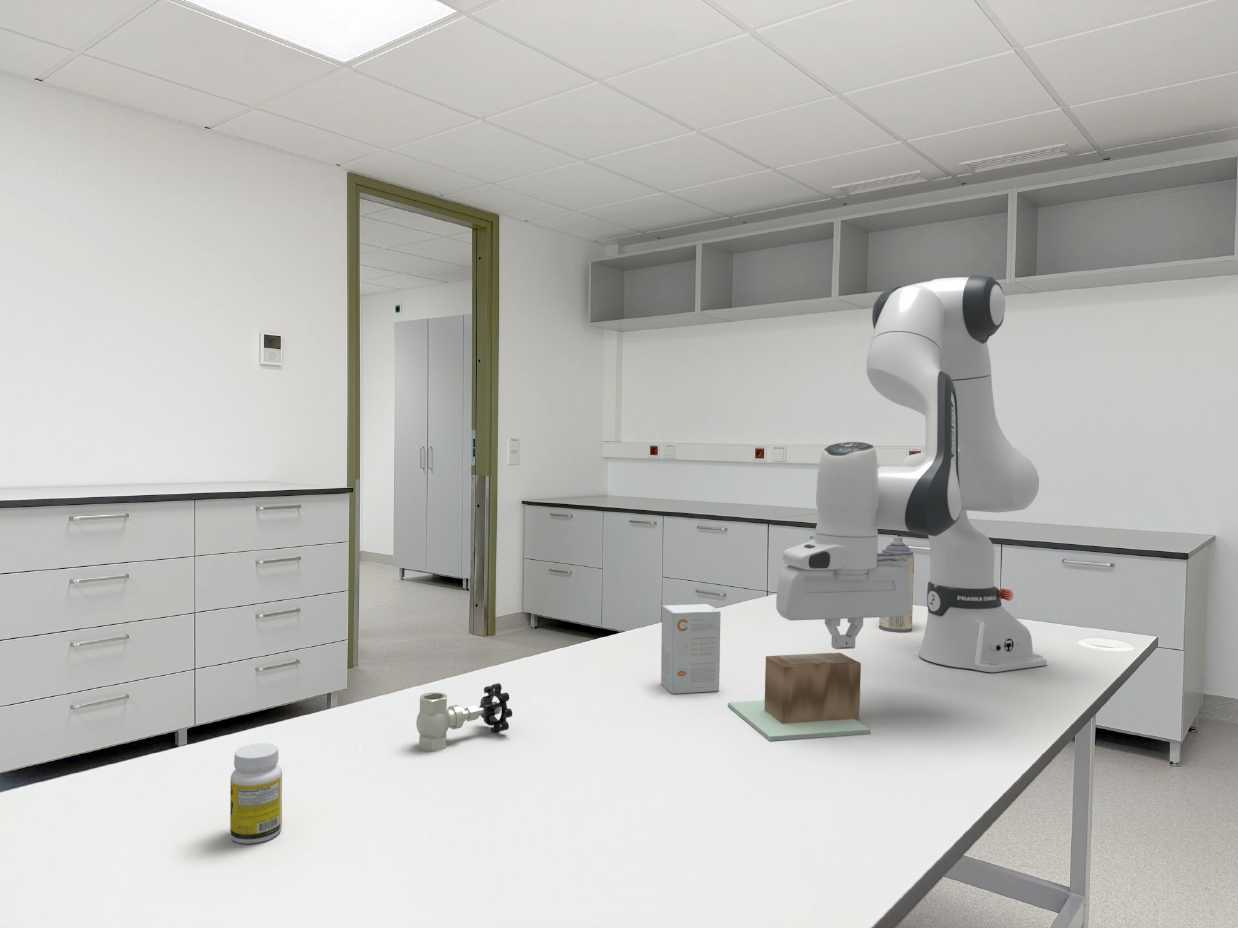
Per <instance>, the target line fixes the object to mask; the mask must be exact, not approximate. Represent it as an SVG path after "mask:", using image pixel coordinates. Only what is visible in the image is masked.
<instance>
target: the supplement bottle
mask: <svg viewBox="0 0 1238 928" xmlns="http://www.w3.org/2000/svg"><path fill="white" fill-rule="evenodd" d="M278 763H279V747H278V746H277V745H275V744H272V743H267V742H266V743H265V742H264V743H252V744H248V745H244V746H242V747H239V748H238V749H237V750H236V751H235V752H234V759H233V766H234V770H233V771H232V773H231V775H230V780H229V781H230V782H229V783H230V805H229V806H230V807H229V808H230V809H229V810H230V811H229V813H230V816H229V817H230V818H229V819H230V821H229V822H230V823H229V824H230V825H229V827H230V829H229V830H230V838H231V840H232V841H233V842H235V843H238V844H244V845H245V844H247V845H249V844H250V845H251V844H257V843H258V844H260V843H262V842H263V843H264V842H267V841H269V840H272V839H273V838H275V837H277V835H279V834H280V833H281V831H282V827H283V770H282V767H281V766H280V764H278Z"/></svg>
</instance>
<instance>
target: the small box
mask: <svg viewBox="0 0 1238 928" xmlns="http://www.w3.org/2000/svg"><path fill="white" fill-rule="evenodd" d="M660 648H661V649H660V650H661V653H660V654H661V657H660V658H661V659H660V660H661V661H660V664H661V665H660V666H661V667H660V671H661V673H660V677H661V678H660V684H661V686H663V687H664V688H665V689H667V691H668V692H669V693H670V694H671V695H678V694H692V693H708V692H719V691H720V665H721V664H720V663H721V662H720V661H721V655H720V654H721V611H720V610H719V609H718V608H716V607H714V606H712V605H710V604H708V603H701V604H700V603H698V604H671V605H670V604H669V605H662V606H661V647H660Z"/></svg>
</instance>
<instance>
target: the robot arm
mask: <svg viewBox="0 0 1238 928" xmlns="http://www.w3.org/2000/svg"><path fill="white" fill-rule="evenodd" d="M1005 299H1006V298H1005V294H1004V291H1003V288H1002V286H1001V283H999V282H998V281H997V280H996V279H995V278H994V277H992V276H989V275H979V274H978V275H977V274H974V275H973V274H972V275H970V276H968V277H966V276H964V277H963V276H962V277H961V276H959V277H947V278H946V277H941V278H935V279H932V280H929V281H924V282H918V283H913V284H909V285H906V286H895V287H892V288H888V289H887V290H885V291H883V292H882V293H881V294H880V295H879V296H878V298H877V299H876V300H875V301H874V303H873V308H872V315H871V320H872V326H873V333H872V336H871V337H872V338H871V341H870V345H869V348H868V353H867V357H866V358H867V359H866V375H867V378H868V380H869V382H870V384H871V385H872V387H873V389H875V391H876V392H878V394H880V395H881V396H883V397H884V398H885V399H887V400H889V401H890V402H892V403H894V404H897V405H900V406H902V407H905V408H908V409H910V410H913V411H916V412H918V413H920V414H922V415H923V416H925V451H923V452H918V453H914V454H909V455H908V456H906V457H905V458H904V459H903V461H902V462H901V463H900V465H899V466H897V465H882V464H881V465H880V463H878V457H877V451H876V450H877V449H876V447H875V446H874V445H873V444H871V443H867V442H861V441H846V442H840V443H839V442H838V443H834V444H831V445H828V446H826V447H825V448H824V449H823V450H822V453H821V456H820V459H819V464H818V471H817V479H816V480H817V481H816V490H815V492H816V495H815V498H816V499H815V504H816V508H817V513H818V517H817V522H816V523H817V524H816V526H815V531H814V532H815V534H814V535H815V536H814V538H813V539H812V540H809V541H807V542H804V543H801V544H797V545H795V546H793V547H789V548H787V549H785V550H784V551H783V553H782V560H783V563H784V564H786V566H784V567H783V568H782V570H781V572H780V573H779V575H778V576H779V577H778V581H777V589H776V597H775V598H776V603H775V606H776V611H777V613H778V614H779V615H780V617H782V618H784V619H785V620H788V621H813V620H815V621H817V620H824V625H825V627H826V629H827V630H828V632H829V635H830V636H831V648H833V649H834V650H850V649H855V648H856V638H857V636H858V635H859V633H860V631H861V630H862V628H863V627H864V619H868V618H869V619H870V618H871V619H872V618H873V619H874V618H879V617H903V616H907V614H908V613H909V611H910V610H911V594H910V585H909V578H908V577H909V562H908V561H907V559H906V558H905V557H903V556H901V554H899V553H891V554H885V553H882V552H881V553H878V548H879V547H878V546H879V545H878V542H879V541H878V538H879V537H878V536H879V532H878V529H881V530H891V531H892V530H893V531H903V532H904V531H905V532H911V533H915V534H920V535H925V536H927V537H928V543H929V559H930V571H929V572H930V575H929V576H930V581H928V582H927V593H926V604H927V606H926V607H927V619H926V625H925V632H924V635H923V640H922V643H921V646H920V649H919V651H918V656H919V657H920V658H921V659H924V660H925V661H927V662H931V663H934V664H938V665H941V666H942V665H943V666H946V667H953V668H960V669H970V670H975V671H980V672H986V673H998V672H1005V671H1012V670H1020V669H1026V668H1027V669H1028V668H1035V667H1042V666H1046V665H1047V659H1046V658H1045V657H1044V656H1042V655H1040V654H1038V653H1036V652H1034V650H1033V640H1032V635H1031V632H1030V630H1029V629H1028V627H1027V626H1026V625H1024V624H1023V623H1022V622H1020V620H1018V619H1017V618H1016V617H1014V615H1012V614H1011V613H1010V612H1009V611H1008V610H1006V608H1004V607H1003V606H1002V605H1003V604H1002V601H1001V600H1005V601H1008V602H1009V601H1011V600H1013V599H1014V596H1015V594H1014V592H1013V590H1011V589H1006V588H1004V587H1003V588H1001V589H999V588H998V587H996V586H995V556H996V555H995V554H996V553H995V552H996V549H995V547H994V545H993V543H992V540H990V538H989V537H988V536H986V535H985V534H983V533H982V532H980V531H979V530H977V529H976V528H974V526H973V525H972V523H971V522H970V519H969V516H968V511H971V512H984V513H999V514H1000V513H1009V512H1015V511H1016V512H1017V511H1021V510H1023V511H1024V510H1026V509H1027V508H1028V507H1029V506H1030V505H1031V504H1032V503H1033V502H1034V501H1035V499H1036V496H1037V495H1038V492H1039V489H1040V488H1039V487H1040V478H1039V473H1038V470H1037V469H1036V467H1035V464H1033V463H1032V461H1031V460H1030V459H1029V458H1028V457H1026V456H1024V455H1023V454H1022V453H1020V452H1019V451H1018V450H1017V449H1016V448H1015V447H1014V446H1013V445H1012V444H1011V443H1010V441H1009V440H1008V439H1007V437H1006V436H1005V434H1004V433H1003V431H1002V429H1001V427H1000V425H999V422H998V418H997V416H996V409H995V403H994V402H995V401H994V395H993V380H992V378H993V377H992V365H991V358H990V357H991V356H990V350H989V346H988V340H989V339H990V337H992V336H993V335H995V334H996V333H997V331H998V330H999V329H1000V328H1001V326H1002V324H1003V322H1004V319H1005V311H1006V300H1005ZM901 559H903V560H901ZM887 560H892V561H887ZM841 619H842V620H843V619H844V620H845V619H847V623H849V626H848V628H847V630H846V632H845V633H844V634H841V633H840V631H839V629H838V627H840V626H841Z"/></svg>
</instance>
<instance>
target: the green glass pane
mask: <svg viewBox="0 0 1238 928" xmlns="http://www.w3.org/2000/svg"><path fill="white" fill-rule="evenodd" d="M727 707H728V708H729V709H730V710H732V711H733V712H734V713H735V714H737V716H739V718H741V719H742V720H743V721H745V722H746V723H747V724H748V725H750V726H751V727H752V728H753V729H755V730H756V731H757V732H758V733H759V734H760V735H761V736H763V737H764V738H765V739H766V740H768V741H769V742H776V741H790V740H803V739H805V740H806V739H817V738H828V737H829V738H831V737H845V736H846V737H847V736H858V735H869V734H871V729H870V728H869V727H867V726H866V725H864V724H863V723H861V722H859V721H858V720H857V719H845V720H831V721H816V722H801V723H786V724H782V723H780V722H779V721H778V720H776V719H775V718H774V717H773V716H771V715H770V714H769V713H767V712H766V711H765V710H764V708H765V699H764V700H750V701H748V700H747V701H733V702H731V701H730V702H727Z"/></svg>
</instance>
